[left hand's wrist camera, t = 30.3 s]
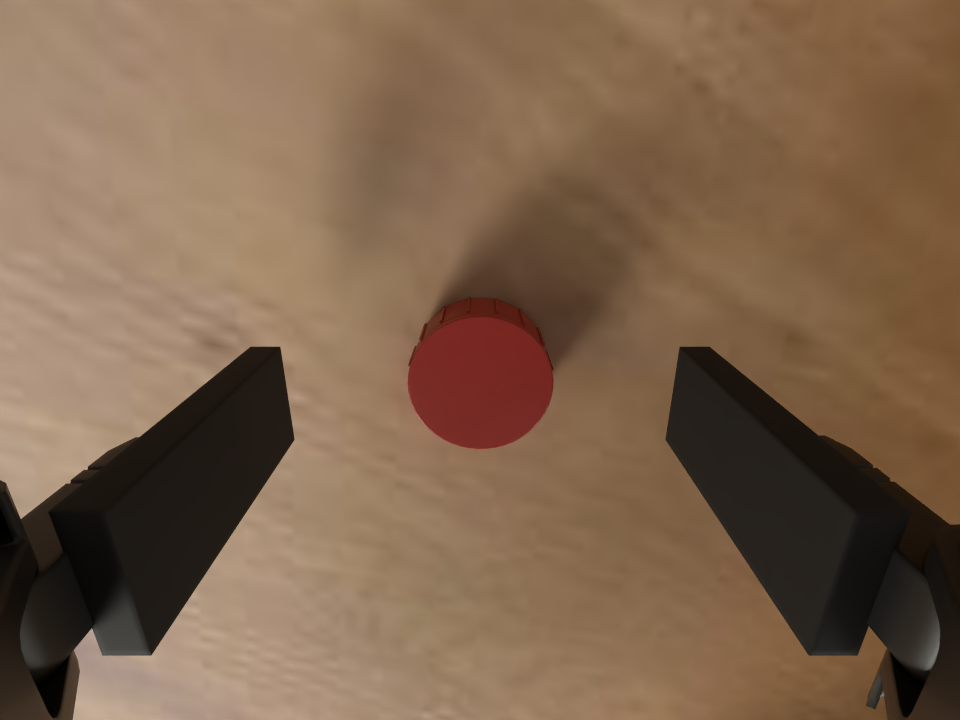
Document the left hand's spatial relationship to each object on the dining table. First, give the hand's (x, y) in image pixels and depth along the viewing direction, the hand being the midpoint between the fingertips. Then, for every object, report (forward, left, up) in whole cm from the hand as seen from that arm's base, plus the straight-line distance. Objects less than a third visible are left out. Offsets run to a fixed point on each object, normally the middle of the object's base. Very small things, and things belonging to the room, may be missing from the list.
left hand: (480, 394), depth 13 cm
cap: (0, 0, -1) cm, 1 cm away
